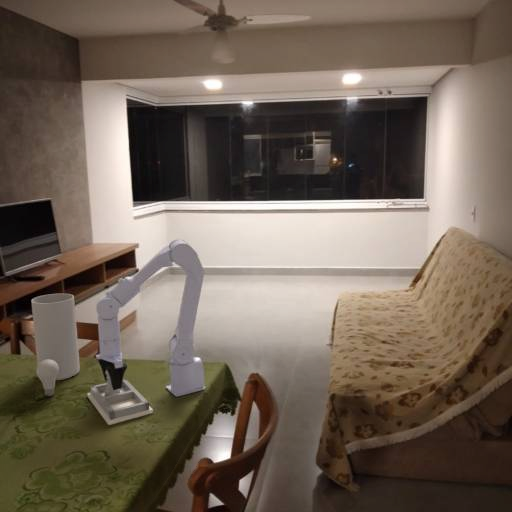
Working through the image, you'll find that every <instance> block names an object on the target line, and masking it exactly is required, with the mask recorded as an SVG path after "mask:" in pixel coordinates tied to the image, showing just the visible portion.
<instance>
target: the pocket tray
mask: <svg viewBox="0 0 512 512" xmlns="http://www.w3.org/2000/svg"><path fill="white" fill-rule="evenodd" d="M106 387H107V382H104V383H99V384H95V385H91V386H89V389H90V390H89V391H90V392H87V399H88V400H89V401H90V402H91V404H92V405H93V406H94V407H95V409H96V410H97V411H98V413H99V414H100V415H101V417H102V418H103V420H104V421H105V422H106V424H107V425H108V426H112V425H115V424H118V423H122V422H125V421H128V420H133V419H136V418H139V417H143V416H148V415H150V414H153V413H154V409H153V408H152V407H151V406H150V402H149V401H148V400H147V399H146V398H145V397H144V396H143V395H142V393H140V392H139V391H138V390H137V389H136V388H135V387H134V386H133V384H131V383H130V381H128V380H127V379H126V378H123V381H122V386H121V389H120V392H121V393H118V394H114V395H110V396H105V389H106Z"/></svg>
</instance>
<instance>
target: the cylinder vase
mask: <svg viewBox="0 0 512 512" xmlns="http://www.w3.org/2000/svg"><path fill="white" fill-rule="evenodd" d="M31 312H32V321H33V331H34V341H35V342H34V343H35V353H36V361H37V365H38V364H39V363H40V362H42V361H43V360H47V359H50V360H53V361H55V362H56V363H57V364H58V366H59V373H58V375H57V377H56V380H57V381H63V380H66V379H70V378H73V377H74V376H76V375H77V374H78V373H79V372H80V369H81V368H80V367H81V366H80V353H79V343H78V342H79V341H78V328H77V319H76V316H77V315H76V305H75V296H74V295H73V294H70V293H51V294H44V295H39V296H36V297H33V298H32V299H31ZM72 376H73V377H72ZM56 380H55V382H56Z"/></svg>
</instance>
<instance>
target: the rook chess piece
mask: <svg viewBox="0 0 512 512" xmlns="http://www.w3.org/2000/svg"><path fill="white" fill-rule="evenodd" d="M105 373H106V375H107V377H106V378H107V381H106V383H107V387H106V389H105V396H110V395H114V394H118V393H121V392H120V389H117V390H113V388H112V384H111V379H110V376H109V373H108V371H107V370H106V372H105Z"/></svg>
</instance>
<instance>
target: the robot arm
mask: <svg viewBox="0 0 512 512" xmlns="http://www.w3.org/2000/svg"><path fill="white" fill-rule="evenodd" d="M173 263H174V264H175V265H177V266H178V267H180V268H182V270H183V271H184V272H185V274H186V275H185V281H184V287H183V292H182V298H181V304H180V308H179V313H178V318H177V319H178V320H177V323H176V326H175V329H174V331H173V336H172V337H171V338H170V340H169V342H168V348H169V350H170V353H171V357H170V358H169V359H168V360H169V377H170V384H169V385H166V386H165V388H166V389H167V390H168V391H169V392H170V393H171V394H172V395H173V396H174V397H180V396H181V397H182V396H185V395H188V394H192V393H196V392H200V391H204V390H206V386H205V373H204V372H205V371H204V364H203V361H202V359H201V358H200V357H199V356H195V349H194V341H195V340H194V329H195V323H196V319H197V314H198V308H199V302H200V298H201V292H202V288H203V287H202V286H203V281H204V277H205V269H204V267H203V265H202V263H201V260H200V257H199V255H198V252H197V251H196V250H195V249H194V248H193V247H192V246H191V245H190V244H189V243H188V242H186V241H185V240H184V239H180V238H179V239H174V240H172V241H171V242H170V243H169V245H166V246H164V247H162V249H161V250H159V251H158V252H157V253H155V255H154V256H153V257H152V258H151V259H149V261H147V262H146V264H144V265H143V267H141V268H140V269H139V270H138V272H136V273H135V274H134V275H133V276H125V277H124V278H123V277H121V278H119V279H118V280H117V281H118V283H117V284H116V285H114V286H113V287H112V288H111V290H107V291H106V292H105V293H104V294H105V295H103V296H101V297H100V298H99V299H98V300H97V303H96V305H95V306H96V313H97V322H98V323H97V329H98V331H97V332H98V343H99V354H96V355H95V358H96V360H97V362H98V363H99V366H100V367H101V371H102V374H103V378H104V381H106V382H107V378H106V377H107V375H106V373H105V372H106V370H107V371H108V373H109V376H110V379H111V384H112V388H113V390H117V389H121V386H122V381H123V379H124V375H125V372H126V370H127V368H128V365H127V363H123V359H122V358H123V351H122V346H121V345H122V343H121V329H120V321H119V318H118V315H119V312H120V309H121V308H123V307H125V306H126V305H127V304H128V303H129V302H130V301H132V300H133V299H134V298H135V297H136V296H137V295H138V294H139V293H140V292H141V285H143V284H144V283H146V282H147V281H148V280H149V279H150V278H151V277H153V276H154V275H155V274H157V272H159V271H160V270H161V269H163V268H169V267H170V268H171V267H172V268H173V267H174V264H173Z"/></svg>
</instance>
